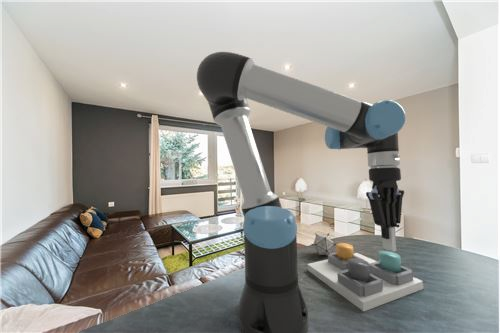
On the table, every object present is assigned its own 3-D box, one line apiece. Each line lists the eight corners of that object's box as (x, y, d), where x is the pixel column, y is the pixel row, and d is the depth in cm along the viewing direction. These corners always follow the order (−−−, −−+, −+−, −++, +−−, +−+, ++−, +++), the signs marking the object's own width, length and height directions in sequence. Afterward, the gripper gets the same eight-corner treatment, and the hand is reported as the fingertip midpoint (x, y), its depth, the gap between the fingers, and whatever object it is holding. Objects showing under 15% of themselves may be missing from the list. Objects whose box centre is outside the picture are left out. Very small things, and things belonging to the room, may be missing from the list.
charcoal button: (360, 283, 45) (359, 268, 46) (343, 273, 50) (343, 260, 50) (375, 278, 47) (374, 264, 47) (357, 269, 52) (356, 256, 52)
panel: (363, 311, 42) (362, 291, 42) (307, 270, 61) (307, 256, 61) (423, 288, 50) (422, 272, 50) (357, 258, 68) (356, 246, 68)
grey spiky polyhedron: (326, 263, 73) (336, 239, 76) (333, 264, 65) (343, 239, 68) (305, 249, 76) (315, 227, 79) (309, 250, 68) (320, 225, 71)
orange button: (345, 261, 57) (345, 249, 57) (333, 255, 62) (332, 244, 62) (357, 258, 59) (356, 247, 59) (344, 252, 63) (344, 242, 63)
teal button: (393, 273, 50) (392, 259, 50) (375, 264, 54) (374, 252, 54) (405, 269, 51) (404, 256, 51) (386, 261, 56) (386, 249, 56)
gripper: (381, 167, 48) (387, 259, 47) (412, 166, 53) (419, 250, 52) (355, 168, 55) (360, 248, 54) (385, 167, 60) (391, 241, 59)
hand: (389, 249), depth 53 cm, fingers closed
